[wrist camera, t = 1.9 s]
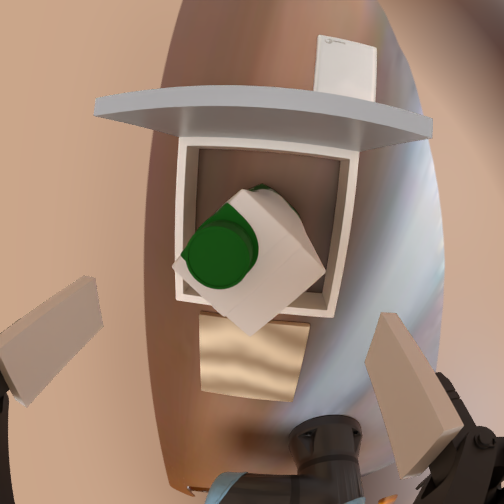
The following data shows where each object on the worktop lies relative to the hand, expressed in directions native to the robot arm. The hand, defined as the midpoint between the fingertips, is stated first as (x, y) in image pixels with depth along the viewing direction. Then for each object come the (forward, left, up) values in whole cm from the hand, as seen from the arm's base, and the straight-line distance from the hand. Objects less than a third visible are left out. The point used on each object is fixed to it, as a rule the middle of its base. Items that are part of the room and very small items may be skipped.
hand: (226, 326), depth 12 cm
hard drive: (+20, -9, -26) cm, 34 cm away
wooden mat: (-22, 0, -25) cm, 34 cm away
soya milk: (0, 0, -26) cm, 26 cm away
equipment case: (+3, 0, -25) cm, 26 cm away
